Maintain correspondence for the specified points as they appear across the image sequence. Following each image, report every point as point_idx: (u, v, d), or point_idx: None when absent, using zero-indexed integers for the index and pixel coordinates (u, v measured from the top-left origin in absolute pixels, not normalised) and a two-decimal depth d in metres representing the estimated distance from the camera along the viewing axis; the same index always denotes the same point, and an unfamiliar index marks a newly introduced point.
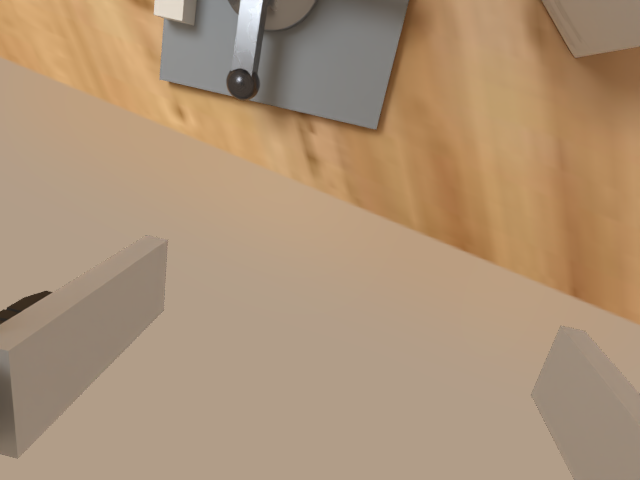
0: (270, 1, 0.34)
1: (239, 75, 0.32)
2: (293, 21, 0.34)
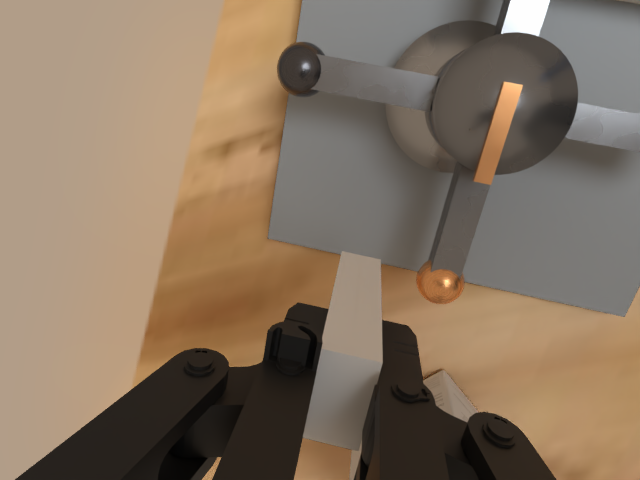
0: None
1: (309, 70, 0.20)
2: (394, 134, 0.25)
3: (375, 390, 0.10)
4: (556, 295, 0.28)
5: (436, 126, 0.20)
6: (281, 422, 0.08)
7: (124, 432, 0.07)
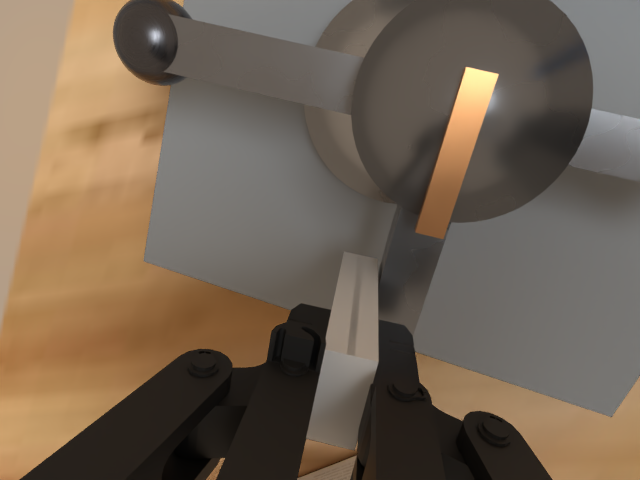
0: None
1: (156, 40, 0.12)
2: (318, 146, 0.17)
3: (371, 389, 0.10)
4: (524, 379, 0.21)
5: (355, 140, 0.12)
6: (285, 423, 0.08)
7: (128, 433, 0.07)
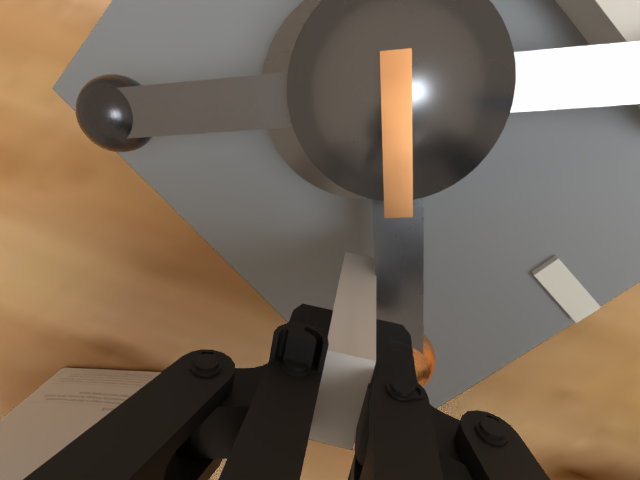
0: None
1: (111, 113, 0.14)
2: (292, 164, 0.18)
3: (368, 389, 0.10)
4: None
5: (303, 148, 0.12)
6: (287, 424, 0.08)
7: (130, 433, 0.07)
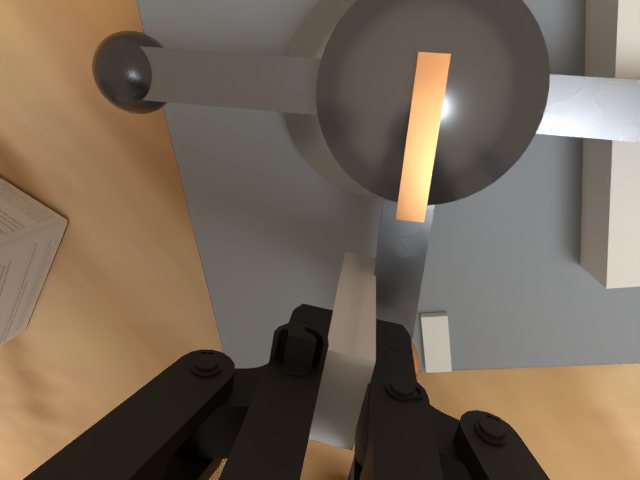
0: None
1: (130, 72, 0.13)
2: (303, 152, 0.17)
3: (368, 389, 0.10)
4: (219, 302, 0.22)
5: (325, 137, 0.12)
6: (287, 423, 0.08)
7: (130, 433, 0.07)
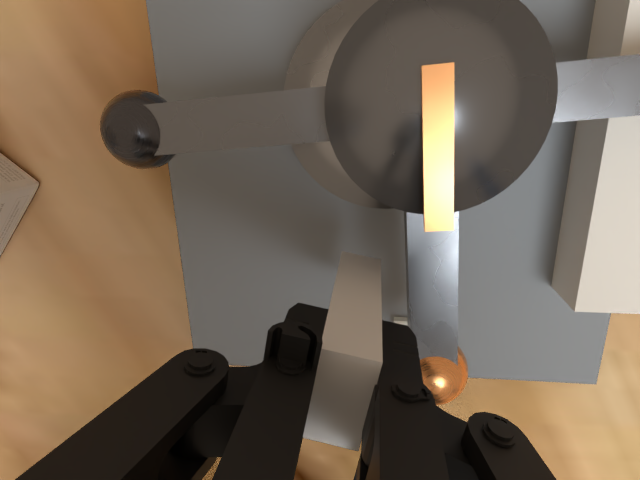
0: None
1: (139, 131, 0.13)
2: (314, 176, 0.17)
3: (375, 390, 0.10)
4: (193, 285, 0.21)
5: (341, 163, 0.12)
6: (281, 422, 0.08)
7: (124, 432, 0.07)
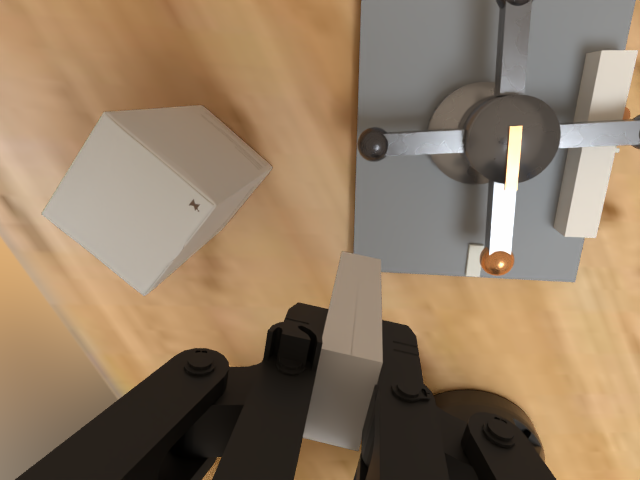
0: None
1: (381, 145, 0.31)
2: (440, 167, 0.35)
3: (375, 390, 0.10)
4: (359, 225, 0.39)
5: (472, 162, 0.30)
6: (281, 422, 0.08)
7: (124, 432, 0.07)
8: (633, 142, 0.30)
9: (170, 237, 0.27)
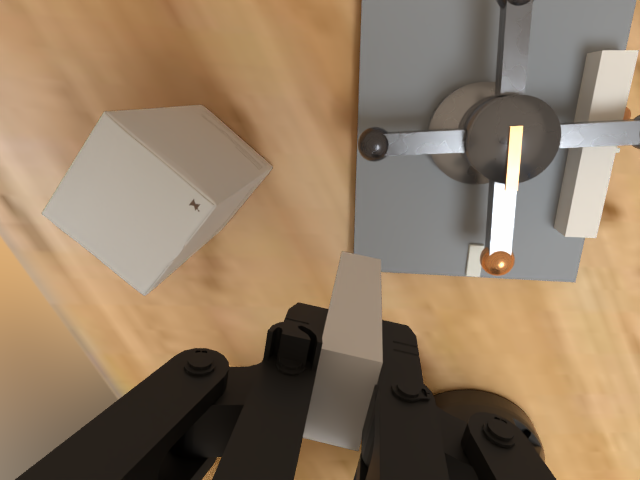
0: None
1: (381, 145, 0.31)
2: (440, 167, 0.35)
3: (375, 390, 0.10)
4: (359, 225, 0.39)
5: (473, 162, 0.30)
6: (281, 422, 0.08)
7: (124, 432, 0.07)
8: (634, 142, 0.29)
9: (170, 237, 0.27)
